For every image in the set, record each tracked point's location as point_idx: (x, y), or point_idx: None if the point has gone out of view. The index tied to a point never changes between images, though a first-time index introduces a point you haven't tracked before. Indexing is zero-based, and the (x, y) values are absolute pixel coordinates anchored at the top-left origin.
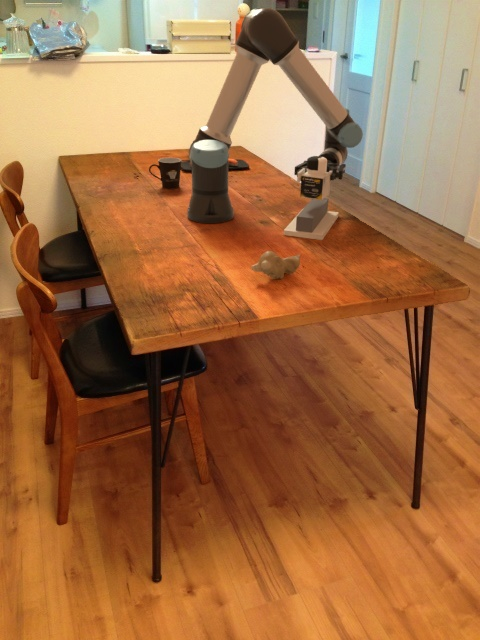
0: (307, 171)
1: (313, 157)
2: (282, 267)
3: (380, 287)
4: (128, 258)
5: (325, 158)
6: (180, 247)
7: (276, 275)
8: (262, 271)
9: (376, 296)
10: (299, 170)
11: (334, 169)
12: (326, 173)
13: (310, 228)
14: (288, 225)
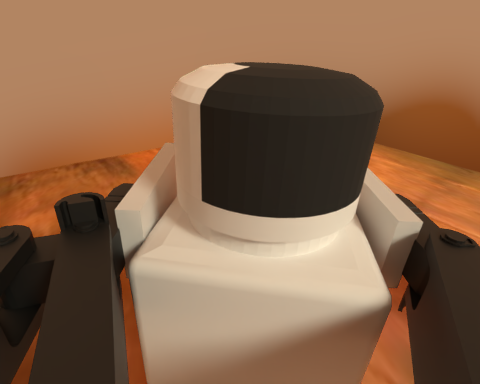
0: (363, 239)
1: (309, 66)
2: None
3: (95, 170)
4: (436, 170)
5: (191, 73)
6: (425, 199)
7: None
8: None
9: (109, 159)
10: (428, 225)
11: (91, 197)
12: (176, 215)
13: None
14: None
